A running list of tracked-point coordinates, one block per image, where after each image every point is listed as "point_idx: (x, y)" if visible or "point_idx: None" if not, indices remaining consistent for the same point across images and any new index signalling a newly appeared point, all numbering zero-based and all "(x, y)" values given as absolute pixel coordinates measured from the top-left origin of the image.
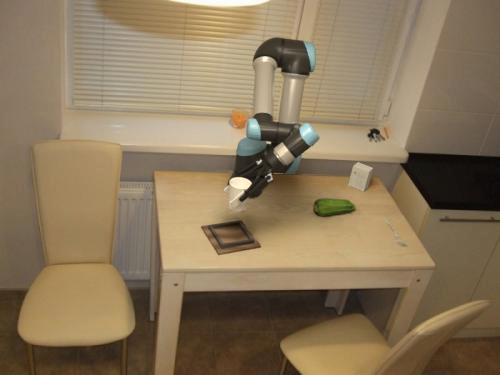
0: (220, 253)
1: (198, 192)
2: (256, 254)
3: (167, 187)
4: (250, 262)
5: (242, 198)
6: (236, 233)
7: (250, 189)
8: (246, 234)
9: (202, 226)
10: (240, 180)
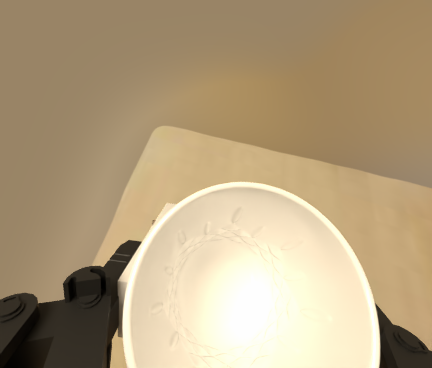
0: (152, 225)
1: (419, 269)
2: None
3: (421, 200)
4: None
5: (111, 259)
6: None
7: (50, 362)
8: None
9: None
10: (345, 340)
